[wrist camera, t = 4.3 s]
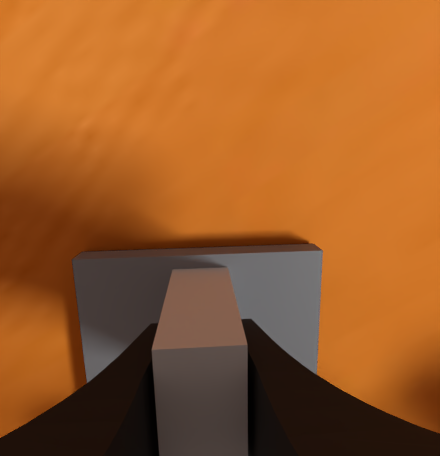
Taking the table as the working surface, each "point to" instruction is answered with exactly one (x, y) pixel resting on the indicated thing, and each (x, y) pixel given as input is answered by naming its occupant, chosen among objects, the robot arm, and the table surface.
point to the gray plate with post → (199, 328)
